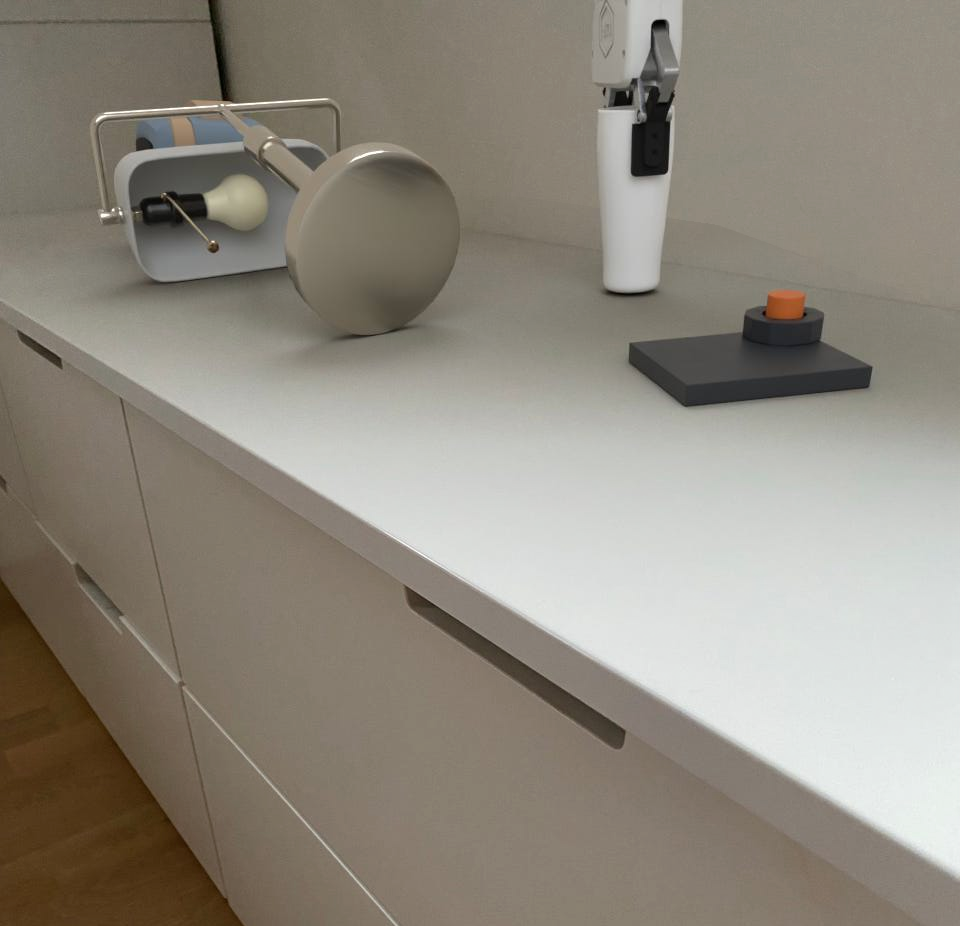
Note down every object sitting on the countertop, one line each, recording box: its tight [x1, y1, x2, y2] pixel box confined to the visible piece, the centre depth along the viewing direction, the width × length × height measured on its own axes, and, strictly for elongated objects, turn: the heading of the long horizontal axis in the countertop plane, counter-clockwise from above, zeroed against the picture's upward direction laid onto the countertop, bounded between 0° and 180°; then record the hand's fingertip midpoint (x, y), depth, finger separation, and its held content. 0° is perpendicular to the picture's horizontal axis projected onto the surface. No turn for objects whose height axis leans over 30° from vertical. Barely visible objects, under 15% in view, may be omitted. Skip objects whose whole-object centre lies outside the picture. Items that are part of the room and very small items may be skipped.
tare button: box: [766, 289, 807, 319], centre depth 71 cm, size 3×3×2 cm
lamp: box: [89, 97, 461, 336], centre depth 92 cm, size 27×23×40 cm
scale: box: [628, 305, 874, 407], centre depth 68 cm, size 14×12×3 cm
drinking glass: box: [595, 104, 676, 294], centre depth 88 cm, size 7×7×15 cm
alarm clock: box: [135, 99, 265, 152], centre depth 121 cm, size 16×16×16 cm
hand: (634, 169), depth 87 cm, fingers closed on drinking glass, 6 cm apart
